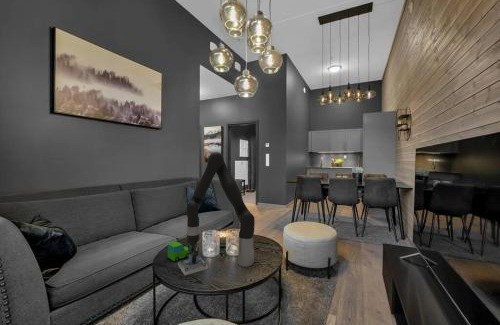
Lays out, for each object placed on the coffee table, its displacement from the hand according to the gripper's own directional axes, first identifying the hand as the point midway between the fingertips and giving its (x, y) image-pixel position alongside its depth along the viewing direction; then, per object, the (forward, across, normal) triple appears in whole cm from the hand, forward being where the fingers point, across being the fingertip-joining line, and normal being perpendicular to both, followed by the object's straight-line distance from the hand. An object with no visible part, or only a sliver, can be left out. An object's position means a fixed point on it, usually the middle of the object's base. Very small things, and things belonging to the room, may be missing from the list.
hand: (192, 260), depth 131 cm
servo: (+2, 0, 0) cm, 2 cm away
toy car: (+4, +17, +3) cm, 18 cm away
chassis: (+4, 0, 0) cm, 4 cm away
